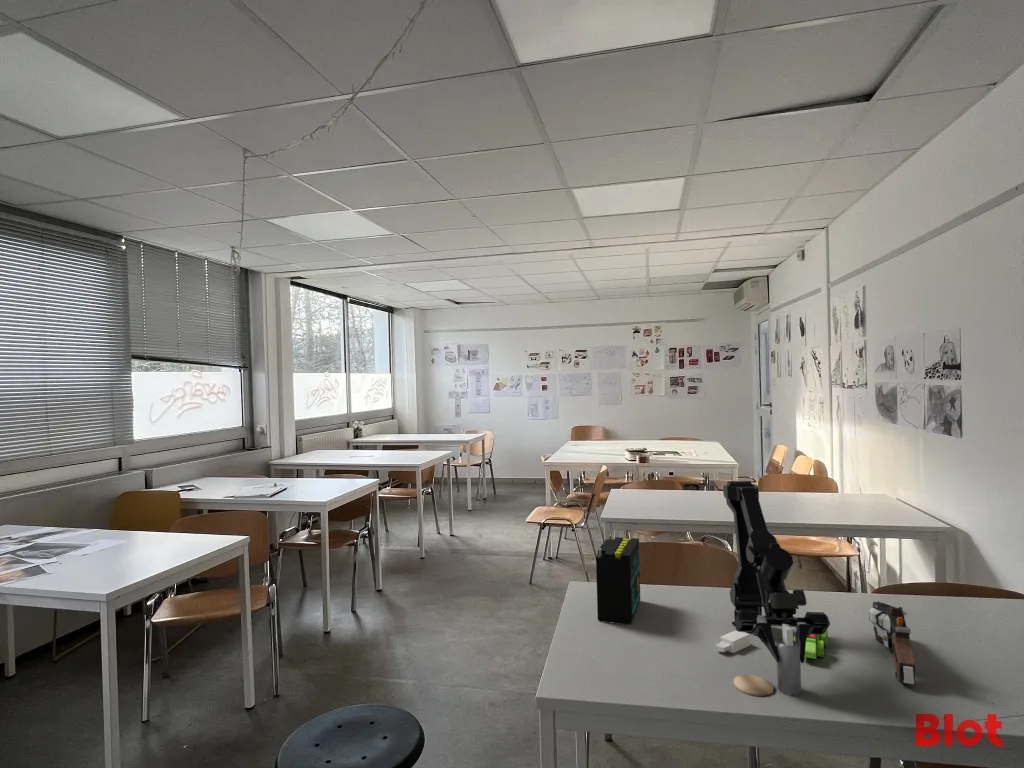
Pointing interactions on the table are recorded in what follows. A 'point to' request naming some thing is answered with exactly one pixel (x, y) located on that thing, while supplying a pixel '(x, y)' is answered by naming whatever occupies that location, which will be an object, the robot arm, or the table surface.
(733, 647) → the small lying plug
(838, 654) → the table surface
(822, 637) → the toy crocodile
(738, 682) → the cork coaster
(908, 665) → the toy gun
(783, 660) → the grey plug
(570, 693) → the table surface
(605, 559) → the battery
